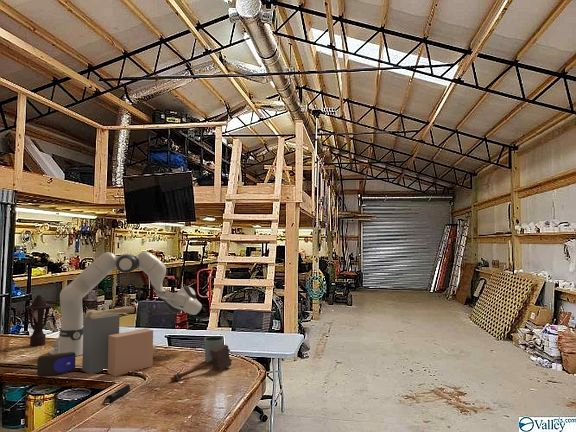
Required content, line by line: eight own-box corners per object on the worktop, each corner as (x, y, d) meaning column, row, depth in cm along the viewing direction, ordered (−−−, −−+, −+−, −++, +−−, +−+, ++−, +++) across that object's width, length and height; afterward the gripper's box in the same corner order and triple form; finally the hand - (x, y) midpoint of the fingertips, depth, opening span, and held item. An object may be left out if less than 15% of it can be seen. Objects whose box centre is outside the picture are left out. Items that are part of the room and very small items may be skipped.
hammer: (233, 364, 217) (230, 345, 216) (177, 394, 193) (173, 373, 192) (224, 362, 221) (221, 343, 221) (169, 391, 198) (165, 370, 197)
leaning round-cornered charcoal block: (37, 378, 200) (38, 358, 200) (36, 376, 204) (37, 355, 204) (76, 372, 209) (76, 352, 209) (74, 370, 213) (75, 350, 213)
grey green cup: (213, 357, 235) (214, 335, 236) (227, 360, 229) (227, 337, 230) (199, 361, 227) (200, 338, 227) (213, 365, 221) (213, 341, 221)
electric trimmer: (132, 392, 184) (132, 384, 184) (110, 405, 169) (111, 397, 169) (124, 391, 185) (124, 383, 185) (102, 404, 170) (102, 396, 170)
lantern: (30, 342, 269) (32, 293, 271) (55, 341, 271) (56, 293, 272) (18, 348, 255) (20, 297, 256) (45, 347, 256) (46, 296, 258)
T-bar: (86, 317, 213) (86, 310, 213) (129, 310, 231) (129, 305, 231) (93, 318, 209) (93, 312, 209) (136, 312, 226) (136, 306, 227)
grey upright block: (82, 370, 212) (83, 317, 213) (109, 364, 223) (110, 313, 224) (90, 374, 206) (92, 319, 207) (118, 367, 217) (119, 315, 218)
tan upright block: (107, 373, 208) (108, 335, 209) (145, 363, 223) (145, 328, 224) (115, 376, 203) (115, 337, 204) (152, 366, 219) (153, 330, 219)
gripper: (170, 293, 258) (152, 284, 249) (191, 297, 245) (173, 288, 236) (166, 303, 256) (147, 294, 247) (187, 307, 242) (168, 299, 233)
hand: (160, 291), depth 241 cm, fingers open, 8 cm apart
